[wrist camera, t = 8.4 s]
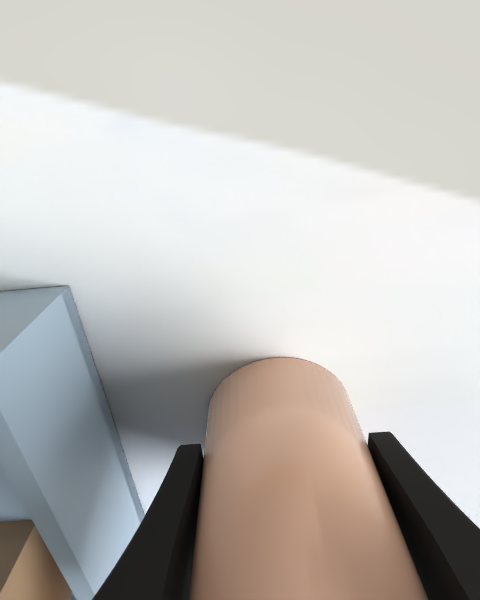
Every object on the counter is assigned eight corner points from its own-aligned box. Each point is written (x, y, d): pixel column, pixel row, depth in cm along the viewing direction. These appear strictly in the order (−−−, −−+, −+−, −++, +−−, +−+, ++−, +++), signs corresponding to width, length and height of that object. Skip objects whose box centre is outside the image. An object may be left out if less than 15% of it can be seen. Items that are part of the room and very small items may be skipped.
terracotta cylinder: (346, 459, 14) (436, 742, 8) (216, 467, 14) (199, 749, 8) (353, 351, 12) (489, 627, 5) (199, 363, 12) (154, 642, 5)
